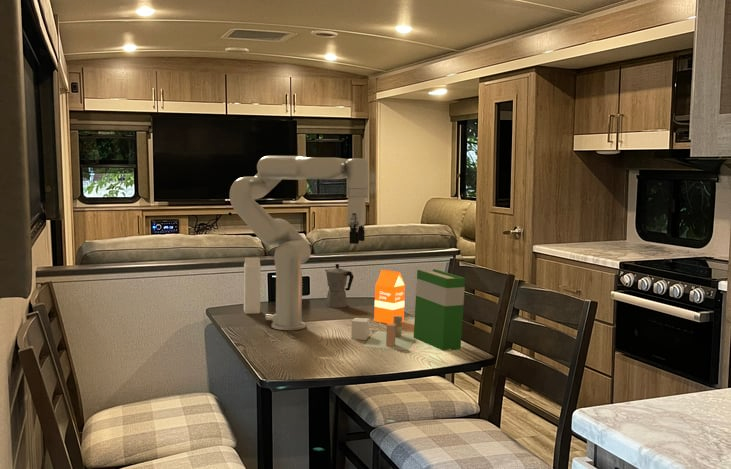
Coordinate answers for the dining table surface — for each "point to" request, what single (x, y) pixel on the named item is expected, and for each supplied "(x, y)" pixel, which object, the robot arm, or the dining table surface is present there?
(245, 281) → the milk
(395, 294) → the orange juice
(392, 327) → the post
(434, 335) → the hardback book
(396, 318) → the post
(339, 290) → the coffeepot
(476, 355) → the dining table surface
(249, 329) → the dining table surface
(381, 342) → the mat
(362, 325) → the beige foam cube
